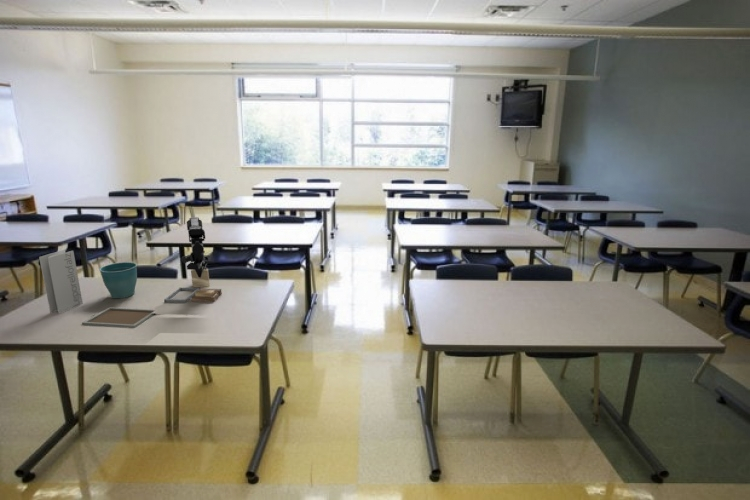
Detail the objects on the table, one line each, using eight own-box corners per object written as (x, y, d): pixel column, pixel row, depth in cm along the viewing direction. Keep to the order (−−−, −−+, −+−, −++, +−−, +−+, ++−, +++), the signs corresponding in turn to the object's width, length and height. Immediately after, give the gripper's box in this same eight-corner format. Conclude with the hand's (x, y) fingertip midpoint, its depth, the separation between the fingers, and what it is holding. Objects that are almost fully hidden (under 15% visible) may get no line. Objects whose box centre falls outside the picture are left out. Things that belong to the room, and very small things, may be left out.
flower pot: (107, 303, 231) (102, 273, 227) (101, 294, 245) (96, 266, 240) (144, 295, 243) (140, 267, 239) (136, 287, 256) (132, 260, 252)
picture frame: (134, 325, 203) (76, 322, 206) (135, 328, 203) (77, 325, 206) (158, 309, 221) (104, 306, 224) (158, 312, 222) (105, 309, 225)
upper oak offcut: (198, 294, 237) (198, 290, 236) (214, 294, 237) (214, 290, 236) (195, 296, 233) (195, 292, 232) (211, 296, 233) (211, 293, 232)
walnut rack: (201, 295, 244) (200, 288, 243) (221, 296, 244) (221, 288, 243) (192, 303, 232) (191, 296, 231) (214, 304, 232) (213, 296, 231)
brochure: (59, 314, 217) (48, 257, 209) (50, 313, 218) (38, 257, 210) (82, 303, 231) (73, 250, 223) (74, 302, 232) (64, 249, 224)
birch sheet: (193, 286, 239) (191, 269, 237) (209, 286, 240) (208, 269, 237) (192, 287, 238) (190, 270, 235) (208, 287, 238) (207, 270, 235)
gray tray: (180, 292, 249) (179, 287, 248) (200, 292, 249) (199, 287, 248) (164, 304, 231) (164, 299, 230) (186, 304, 231) (185, 299, 230)
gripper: (189, 245, 242) (192, 271, 246) (175, 254, 224) (178, 282, 228) (209, 245, 242) (211, 271, 246) (196, 254, 224) (199, 282, 228)
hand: (200, 276), depth 237 cm, fingers closed on birch sheet, 1 cm apart
